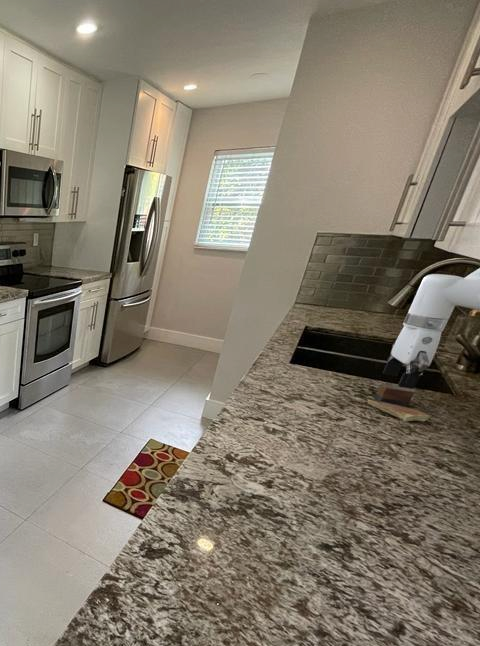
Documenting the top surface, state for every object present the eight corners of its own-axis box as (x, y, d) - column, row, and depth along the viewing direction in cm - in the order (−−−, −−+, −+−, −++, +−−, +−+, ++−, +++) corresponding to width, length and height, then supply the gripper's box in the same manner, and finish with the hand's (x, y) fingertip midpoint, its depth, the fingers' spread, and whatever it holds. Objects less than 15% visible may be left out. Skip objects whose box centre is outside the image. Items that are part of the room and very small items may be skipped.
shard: (364, 403, 116) (366, 397, 115) (390, 403, 116) (393, 397, 115) (403, 421, 106) (406, 415, 105) (432, 421, 106) (435, 415, 105)
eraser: (401, 401, 117) (408, 387, 115) (407, 406, 114) (414, 392, 112) (374, 397, 119) (380, 383, 118) (379, 402, 116) (386, 387, 115)
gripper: (463, 332, 100) (431, 395, 106) (426, 317, 114) (400, 373, 121) (422, 328, 102) (393, 389, 109) (391, 313, 117) (367, 368, 123)
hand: (397, 381), depth 115 cm, fingers open, 9 cm apart
